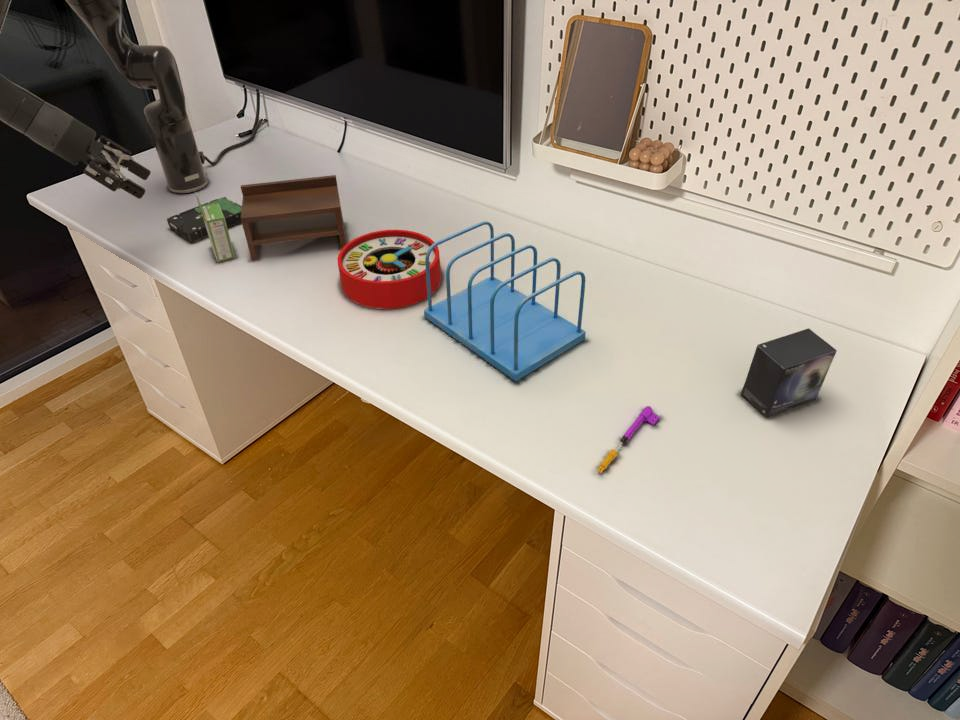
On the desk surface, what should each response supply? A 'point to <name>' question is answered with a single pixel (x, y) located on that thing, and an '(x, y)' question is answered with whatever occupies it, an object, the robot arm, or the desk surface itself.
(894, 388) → the desk surface
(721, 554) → the desk surface
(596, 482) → the desk surface
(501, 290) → the file sorter
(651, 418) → the purple orange tool
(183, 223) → the disk drive
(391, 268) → the toy clock
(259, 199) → the desk shelf
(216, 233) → the ink box
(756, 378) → the small box
